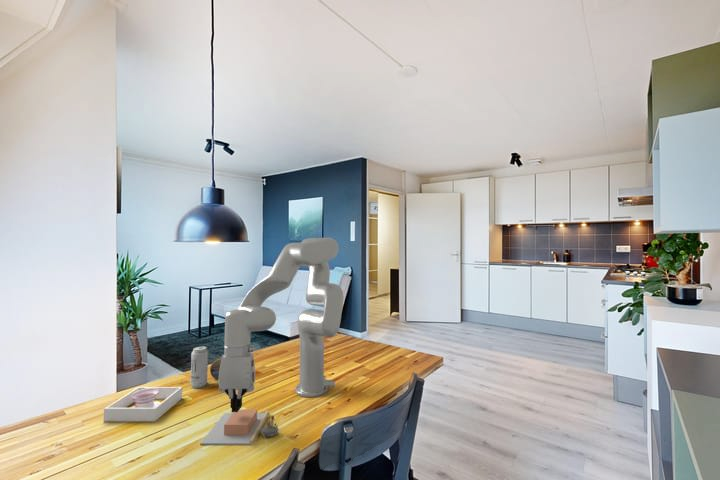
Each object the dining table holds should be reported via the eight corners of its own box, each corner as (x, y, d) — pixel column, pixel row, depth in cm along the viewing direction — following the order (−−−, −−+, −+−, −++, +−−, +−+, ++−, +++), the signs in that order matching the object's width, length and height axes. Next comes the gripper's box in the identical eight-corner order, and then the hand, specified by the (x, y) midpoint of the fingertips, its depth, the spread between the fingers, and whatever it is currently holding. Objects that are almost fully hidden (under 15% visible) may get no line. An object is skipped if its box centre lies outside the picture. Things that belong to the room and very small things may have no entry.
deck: (235, 419, 103) (257, 419, 103) (223, 435, 94) (247, 435, 94) (235, 409, 103) (257, 409, 104) (224, 424, 94) (247, 424, 95)
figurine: (260, 440, 92) (264, 418, 93) (259, 433, 96) (262, 412, 97) (279, 439, 94) (282, 417, 95) (276, 432, 98) (280, 411, 99)
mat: (268, 414, 107) (268, 410, 108) (252, 444, 90) (252, 440, 91) (224, 414, 107) (224, 410, 107) (200, 444, 90) (200, 440, 90)
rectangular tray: (182, 398, 119) (182, 387, 119) (154, 421, 102) (155, 408, 103) (137, 398, 118) (138, 387, 118) (103, 421, 102) (103, 408, 102)
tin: (210, 381, 134) (210, 360, 135) (209, 378, 137) (209, 358, 137) (247, 374, 142) (247, 354, 143) (245, 371, 145) (246, 353, 145)
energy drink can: (187, 386, 128) (188, 349, 129) (200, 381, 134) (201, 345, 134) (196, 390, 125) (197, 351, 126) (210, 384, 131) (211, 347, 131)
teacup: (171, 409, 111) (171, 391, 111) (131, 424, 101) (132, 404, 101) (154, 400, 117) (155, 383, 117) (115, 413, 107) (116, 395, 107)
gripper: (264, 346, 104) (263, 404, 103) (218, 346, 103) (217, 404, 103) (257, 354, 96) (256, 416, 95) (207, 354, 96) (206, 416, 95)
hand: (236, 410), depth 99 cm, fingers closed
